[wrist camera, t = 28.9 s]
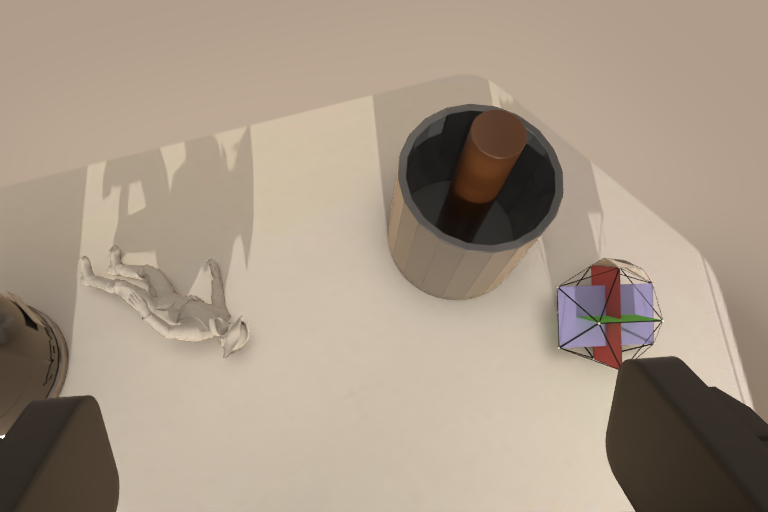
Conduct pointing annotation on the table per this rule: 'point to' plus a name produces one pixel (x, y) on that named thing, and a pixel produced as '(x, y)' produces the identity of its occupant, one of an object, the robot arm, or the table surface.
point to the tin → (500, 227)
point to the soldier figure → (171, 303)
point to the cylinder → (481, 172)
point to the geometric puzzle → (607, 313)
